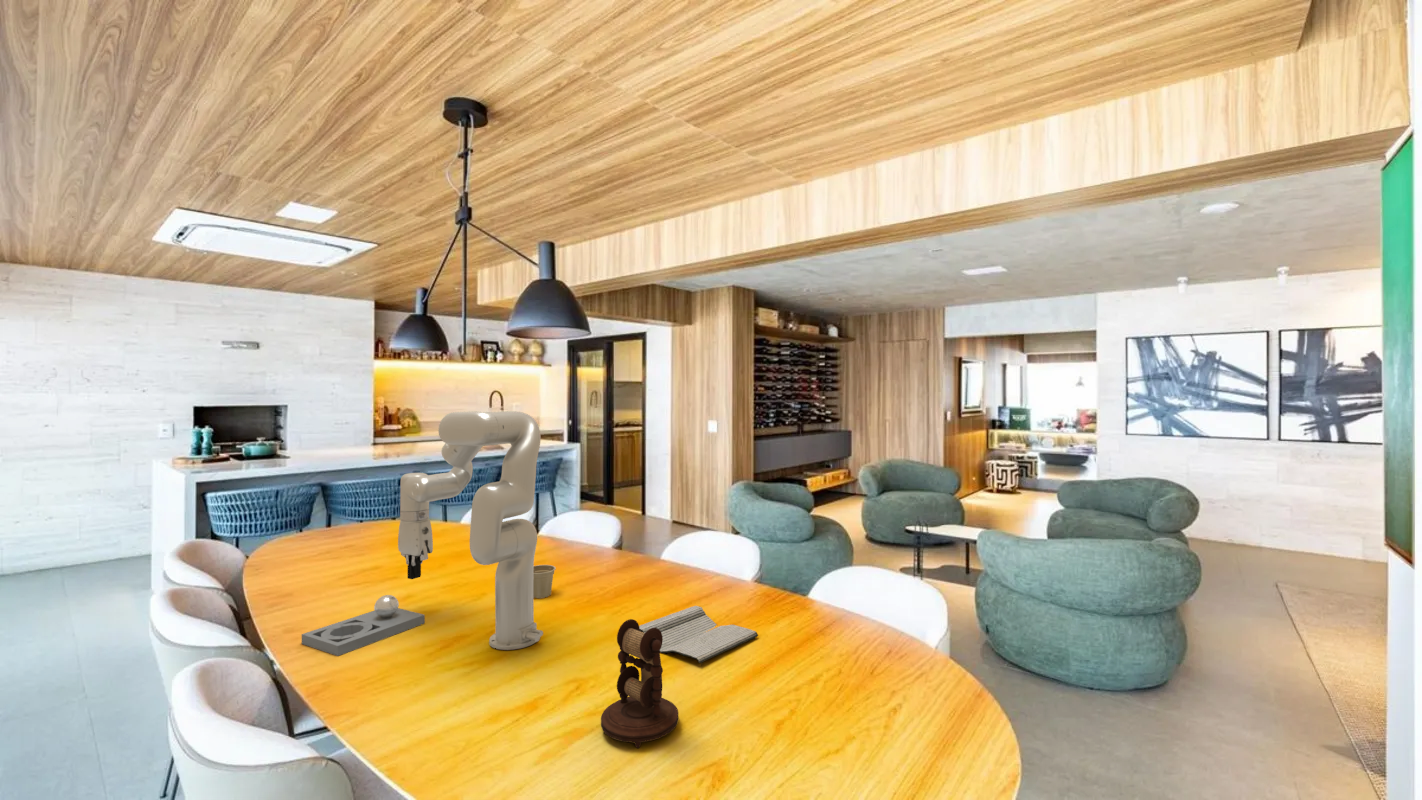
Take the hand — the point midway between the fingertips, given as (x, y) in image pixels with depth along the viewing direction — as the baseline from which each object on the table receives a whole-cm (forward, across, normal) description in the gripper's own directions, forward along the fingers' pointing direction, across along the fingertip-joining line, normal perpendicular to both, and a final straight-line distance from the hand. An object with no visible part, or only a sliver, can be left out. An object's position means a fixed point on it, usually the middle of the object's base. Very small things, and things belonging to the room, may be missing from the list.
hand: (414, 577), depth 176 cm
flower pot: (+11, -21, -30) cm, 38 cm away
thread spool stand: (+9, -94, +19) cm, 96 cm away
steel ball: (+6, -1, +9) cm, 11 cm away
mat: (+10, -83, -22) cm, 86 cm away
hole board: (+11, -1, +15) cm, 19 cm away
